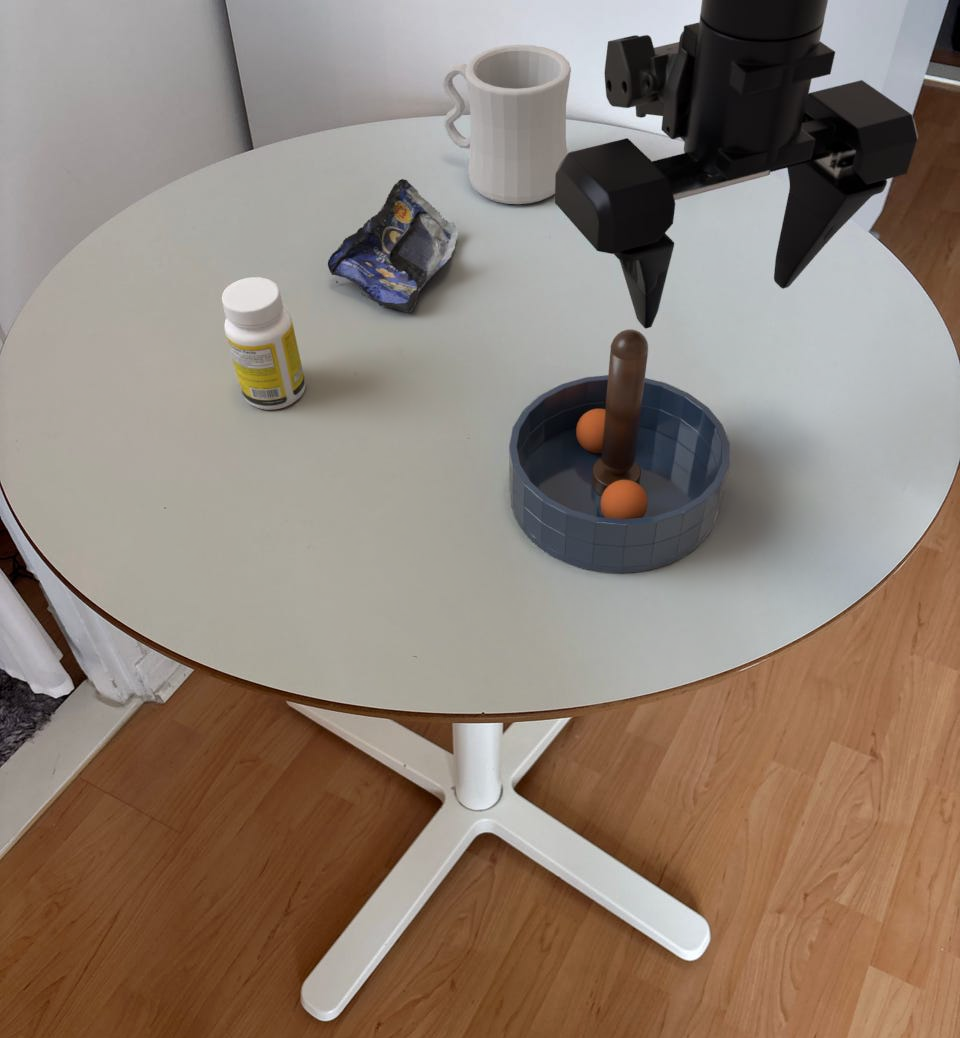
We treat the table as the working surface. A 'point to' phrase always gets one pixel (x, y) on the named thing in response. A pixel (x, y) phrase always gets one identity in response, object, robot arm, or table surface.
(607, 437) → the wooden pestle
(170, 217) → the table surface
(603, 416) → the ball
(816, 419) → the table surface
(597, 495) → the bowl
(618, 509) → the ball
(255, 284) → the supplement bottle
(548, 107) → the mug
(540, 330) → the table surface
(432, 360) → the table surface
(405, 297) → the snack package
